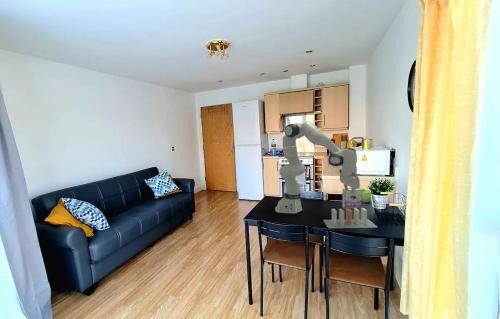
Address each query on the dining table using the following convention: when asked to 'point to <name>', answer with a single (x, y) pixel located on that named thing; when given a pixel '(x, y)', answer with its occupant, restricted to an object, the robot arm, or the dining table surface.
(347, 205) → the candy box
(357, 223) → the domino
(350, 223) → the domino
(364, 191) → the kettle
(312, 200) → the dining table surface
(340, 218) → the domino
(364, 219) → the domino
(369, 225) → the mat
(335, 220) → the domino
